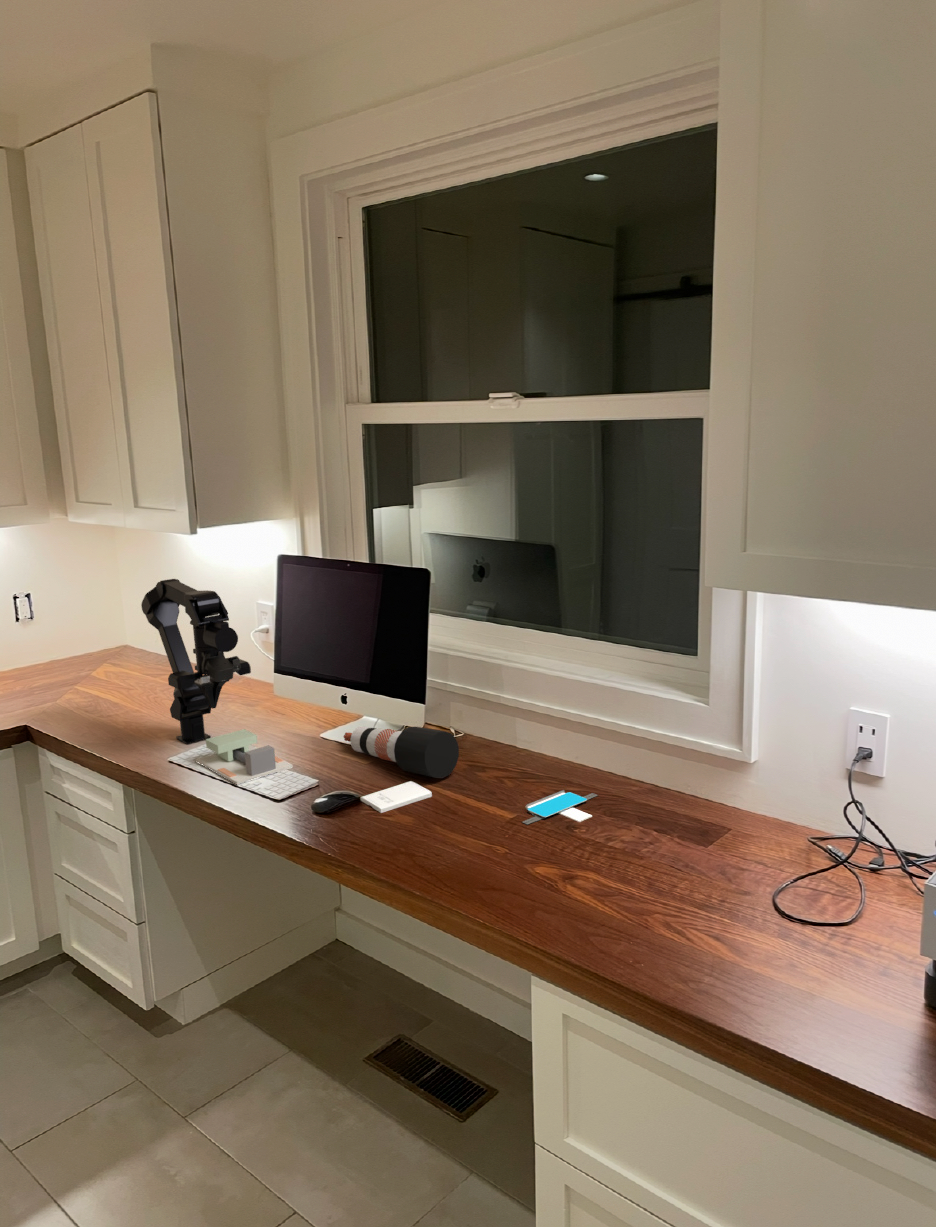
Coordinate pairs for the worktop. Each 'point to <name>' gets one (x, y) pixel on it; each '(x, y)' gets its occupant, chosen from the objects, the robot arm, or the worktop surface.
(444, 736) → the banded black grey cylinder
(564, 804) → the phone stand
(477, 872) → the worktop surface
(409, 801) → the external hard drive
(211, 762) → the board
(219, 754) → the green block
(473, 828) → the worktop surface
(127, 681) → the worktop surface
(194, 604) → the robot arm
